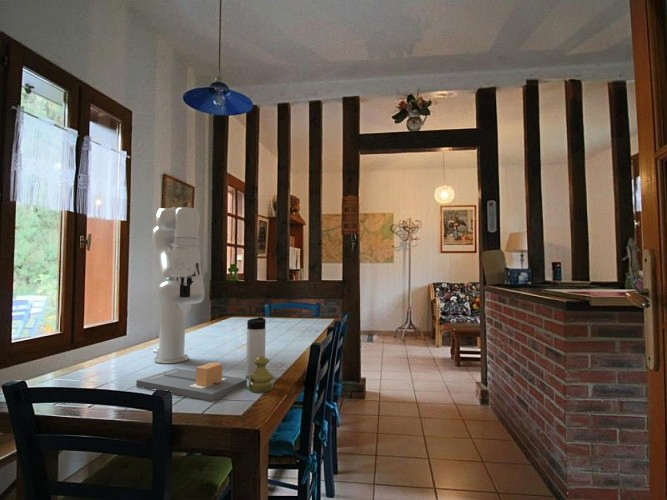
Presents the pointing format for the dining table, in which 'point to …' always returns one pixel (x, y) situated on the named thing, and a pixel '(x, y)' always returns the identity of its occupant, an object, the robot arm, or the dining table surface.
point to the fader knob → (208, 373)
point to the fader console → (191, 384)
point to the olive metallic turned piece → (261, 376)
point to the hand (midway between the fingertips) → (184, 297)
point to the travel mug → (255, 342)
